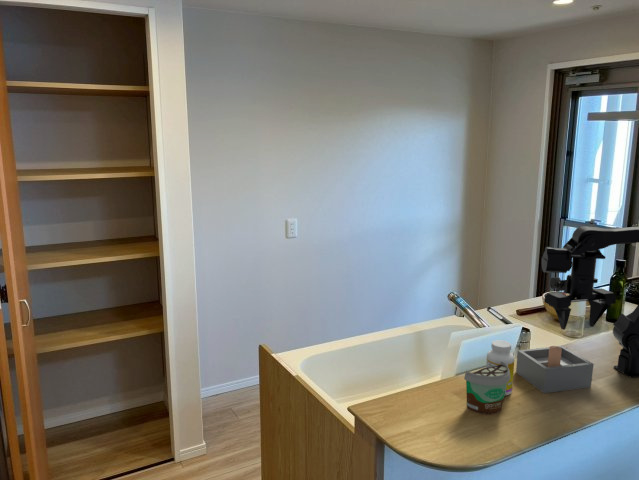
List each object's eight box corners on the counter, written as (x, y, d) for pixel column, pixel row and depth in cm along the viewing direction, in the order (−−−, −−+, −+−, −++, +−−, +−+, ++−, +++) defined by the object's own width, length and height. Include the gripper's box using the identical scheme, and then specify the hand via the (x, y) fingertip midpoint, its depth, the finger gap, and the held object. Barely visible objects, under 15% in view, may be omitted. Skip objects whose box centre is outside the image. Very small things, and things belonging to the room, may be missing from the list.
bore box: (559, 367, 146) (562, 345, 144) (590, 387, 134) (593, 363, 133) (515, 372, 143) (517, 350, 141) (543, 393, 131) (546, 369, 130)
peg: (553, 373, 140) (556, 345, 138) (561, 378, 137) (564, 350, 135) (544, 374, 139) (547, 346, 138) (551, 379, 136) (554, 351, 135)
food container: (481, 422, 118) (483, 381, 116) (462, 409, 123) (464, 371, 121) (519, 409, 123) (522, 370, 121) (499, 397, 129) (502, 360, 127)
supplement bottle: (508, 384, 135) (511, 339, 133) (515, 397, 129) (519, 349, 126) (482, 383, 136) (485, 338, 134) (487, 396, 130) (491, 348, 127)
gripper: (590, 264, 150) (584, 315, 153) (534, 268, 145) (529, 320, 149) (620, 274, 139) (614, 328, 142) (560, 278, 135) (555, 334, 138)
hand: (577, 327), depth 143 cm, fingers open, 9 cm apart
